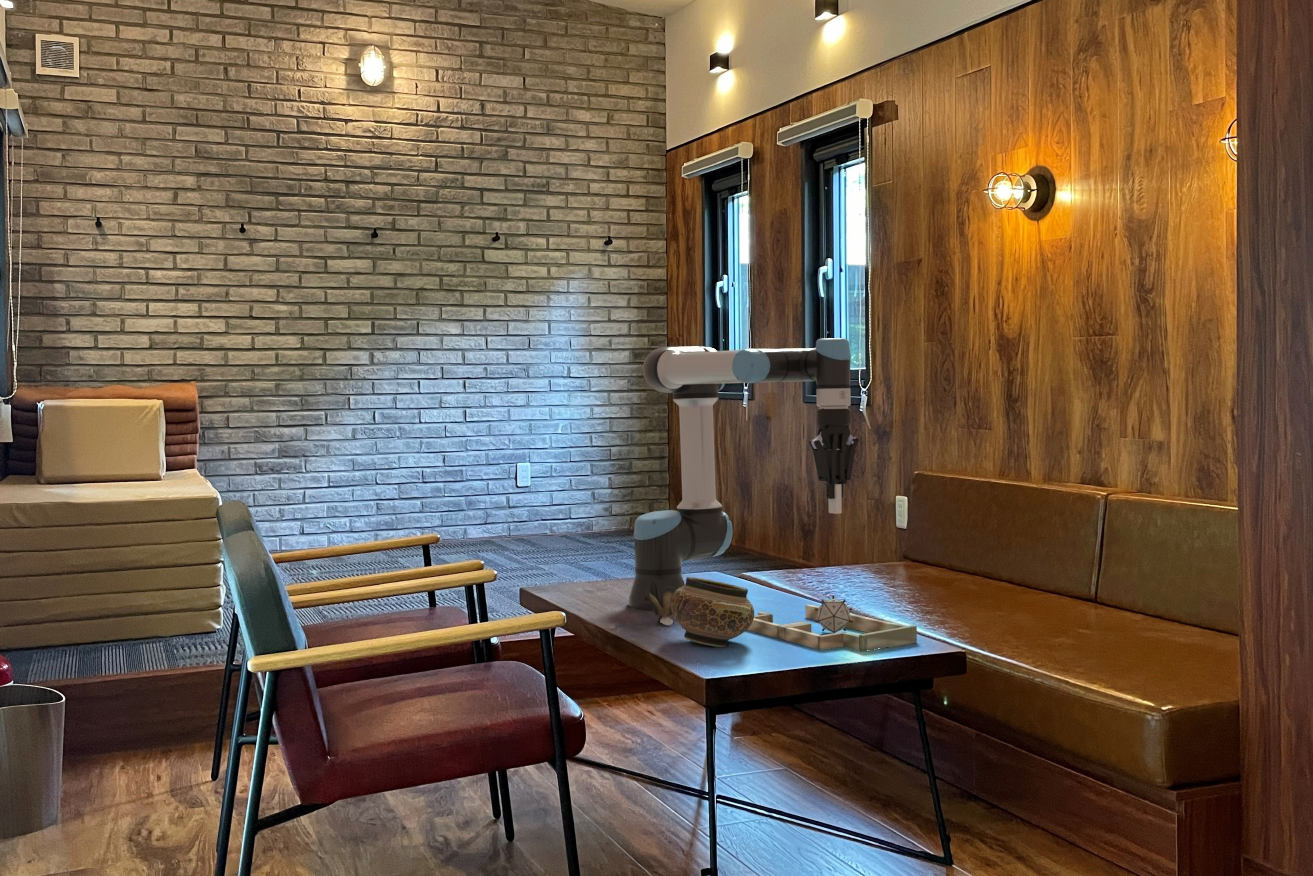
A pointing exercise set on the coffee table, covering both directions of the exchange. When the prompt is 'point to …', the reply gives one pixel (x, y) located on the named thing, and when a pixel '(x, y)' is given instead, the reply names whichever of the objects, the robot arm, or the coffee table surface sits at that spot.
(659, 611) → the tan upright piece
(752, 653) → the coffee table surface
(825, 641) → the brown wall maze
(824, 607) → the game die
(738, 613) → the ceramic bowl
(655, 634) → the coffee table surface
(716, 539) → the robot arm
